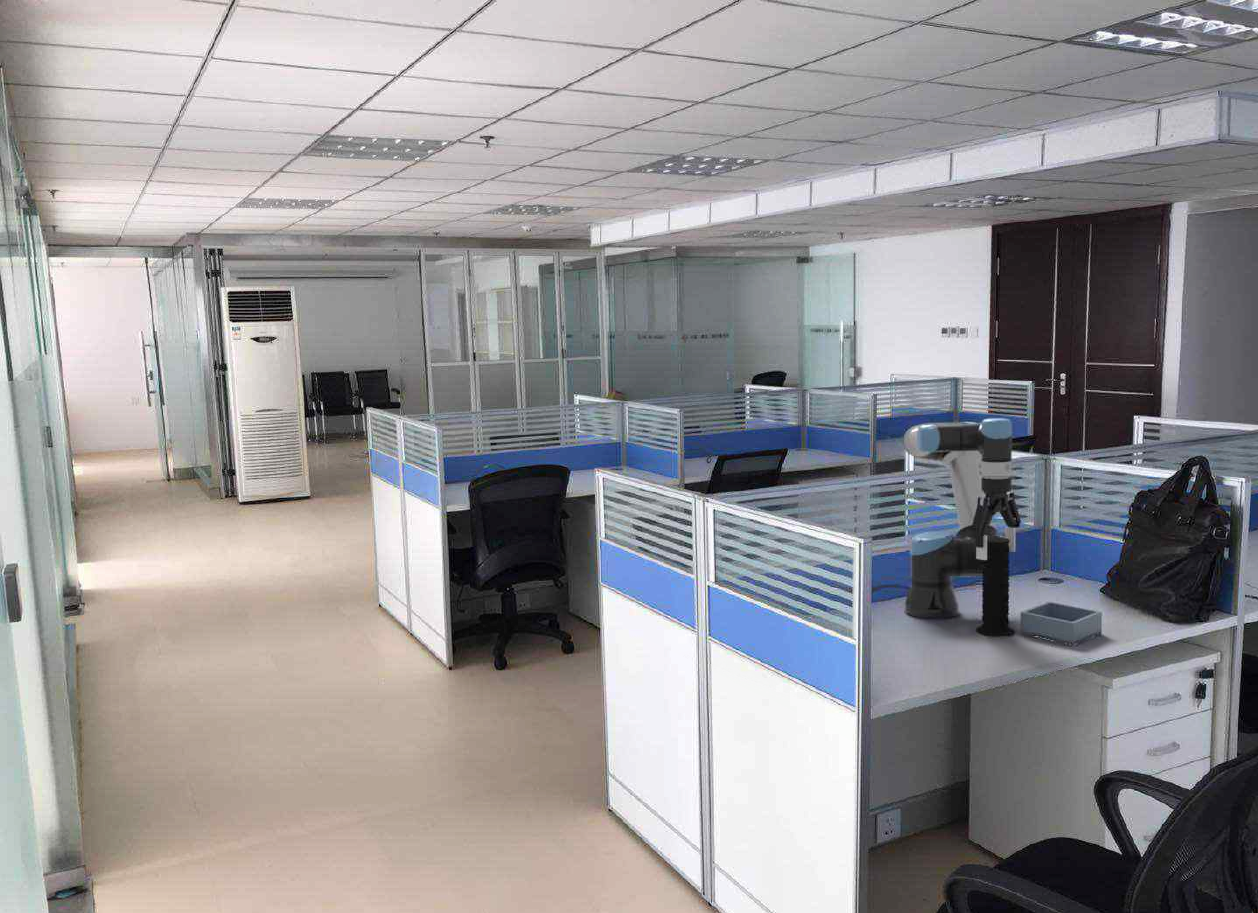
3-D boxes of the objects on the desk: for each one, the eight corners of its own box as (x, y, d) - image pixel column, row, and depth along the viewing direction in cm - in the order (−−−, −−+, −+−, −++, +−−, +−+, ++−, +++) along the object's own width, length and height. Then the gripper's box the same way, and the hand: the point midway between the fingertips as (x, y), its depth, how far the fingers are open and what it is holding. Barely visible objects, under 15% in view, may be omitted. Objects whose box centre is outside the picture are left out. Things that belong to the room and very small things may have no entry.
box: (1020, 633, 260) (1020, 612, 259) (1048, 622, 269) (1049, 601, 268) (1073, 646, 248) (1073, 623, 248) (1101, 633, 257) (1101, 611, 256)
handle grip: (978, 636, 259) (1018, 637, 257) (979, 539, 256) (1019, 539, 254) (973, 625, 269) (1011, 626, 267) (973, 532, 265) (1012, 532, 263)
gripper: (982, 483, 247) (982, 565, 249) (1034, 472, 262) (1034, 549, 265) (956, 481, 253) (956, 560, 255) (1009, 470, 268) (1008, 545, 270)
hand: (996, 555), depth 260 cm, fingers open, 13 cm apart
